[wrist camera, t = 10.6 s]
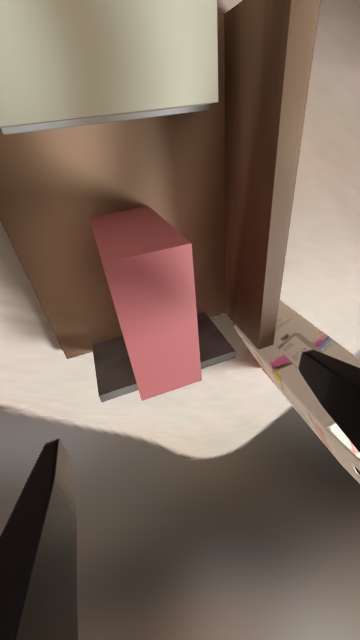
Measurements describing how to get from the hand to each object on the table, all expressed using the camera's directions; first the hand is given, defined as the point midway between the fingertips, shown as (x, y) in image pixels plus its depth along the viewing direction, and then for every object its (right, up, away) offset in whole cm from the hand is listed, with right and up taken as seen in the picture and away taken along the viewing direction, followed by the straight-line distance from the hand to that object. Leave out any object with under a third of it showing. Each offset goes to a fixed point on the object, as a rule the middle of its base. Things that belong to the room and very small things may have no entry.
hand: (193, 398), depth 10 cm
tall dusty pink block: (-4, +6, +9) cm, 11 cm away
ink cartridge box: (+8, +1, +18) cm, 20 cm away
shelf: (-3, +9, +8) cm, 12 cm away
